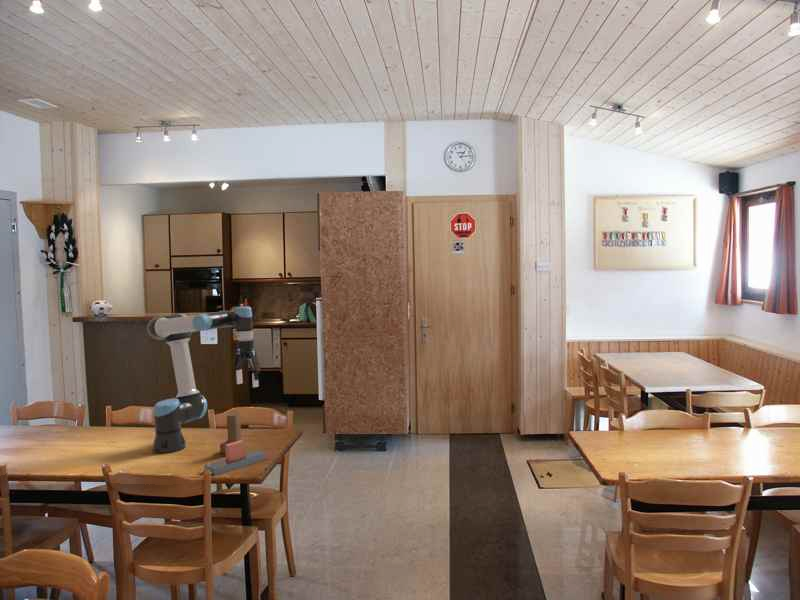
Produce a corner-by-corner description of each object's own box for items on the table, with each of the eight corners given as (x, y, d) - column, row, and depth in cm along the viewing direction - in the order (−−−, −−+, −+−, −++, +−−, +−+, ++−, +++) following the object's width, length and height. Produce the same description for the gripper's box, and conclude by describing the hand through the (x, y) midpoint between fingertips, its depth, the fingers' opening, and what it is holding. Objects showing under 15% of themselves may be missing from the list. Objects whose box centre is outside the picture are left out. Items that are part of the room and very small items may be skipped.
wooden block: (220, 453, 288) (217, 415, 287) (225, 450, 292) (223, 413, 291) (237, 454, 286) (234, 416, 285) (242, 451, 290) (239, 413, 289)
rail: (204, 471, 263) (204, 464, 263) (256, 456, 282) (256, 449, 282) (214, 475, 257) (213, 468, 257) (266, 459, 276) (266, 452, 276)
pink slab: (226, 467, 268) (225, 444, 267) (242, 462, 273) (240, 440, 273) (230, 468, 266) (228, 445, 265) (246, 463, 271) (244, 441, 271)
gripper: (223, 339, 291) (226, 383, 293) (252, 342, 274) (255, 389, 275) (237, 337, 297) (240, 381, 298) (267, 340, 279) (269, 386, 281)
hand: (247, 385), depth 287 cm, fingers open, 13 cm apart
